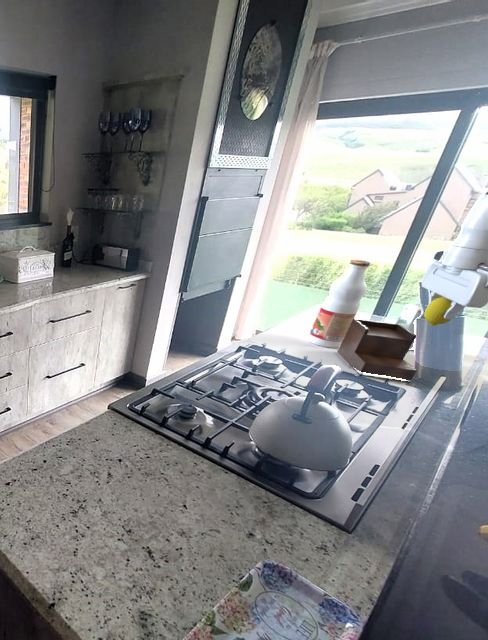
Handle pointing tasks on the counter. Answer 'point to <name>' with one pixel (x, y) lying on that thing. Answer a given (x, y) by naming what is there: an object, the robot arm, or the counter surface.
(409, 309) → the syrup box
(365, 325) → the brown stepped wooden block
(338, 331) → the fruit juice
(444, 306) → the lemon
